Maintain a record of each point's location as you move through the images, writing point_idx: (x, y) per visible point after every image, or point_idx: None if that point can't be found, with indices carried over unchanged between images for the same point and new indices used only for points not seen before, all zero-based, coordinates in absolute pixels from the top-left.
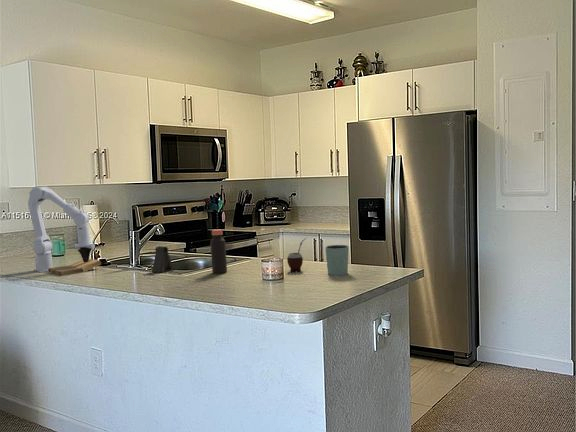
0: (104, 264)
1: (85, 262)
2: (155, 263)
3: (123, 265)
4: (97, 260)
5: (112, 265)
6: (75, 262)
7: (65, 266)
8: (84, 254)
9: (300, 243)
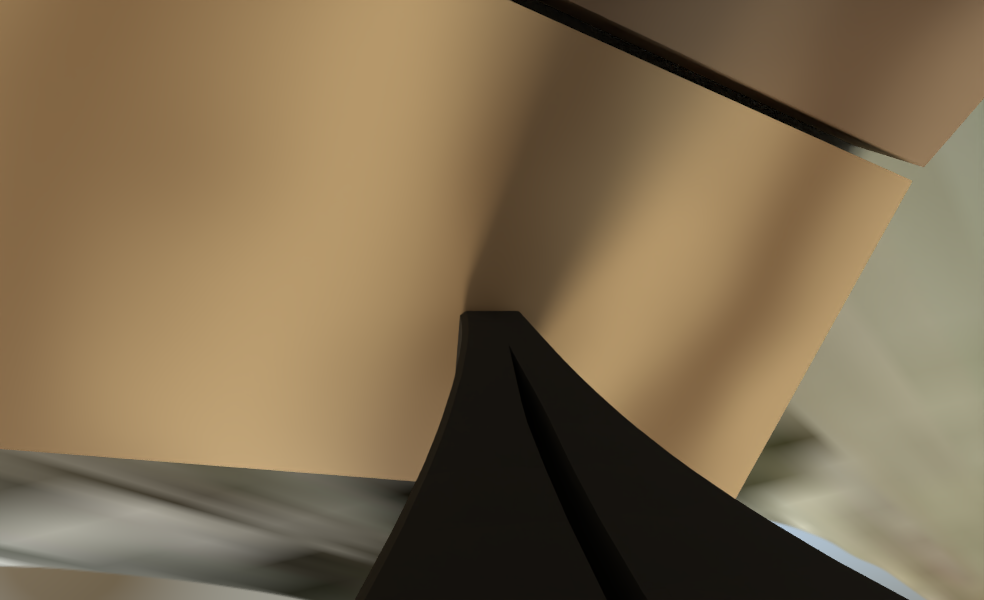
0: None
1: None
2: None
3: (157, 548)
4: (132, 445)
5: (315, 510)
6: (811, 318)
7: (923, 17)
8: (419, 483)
9: None
